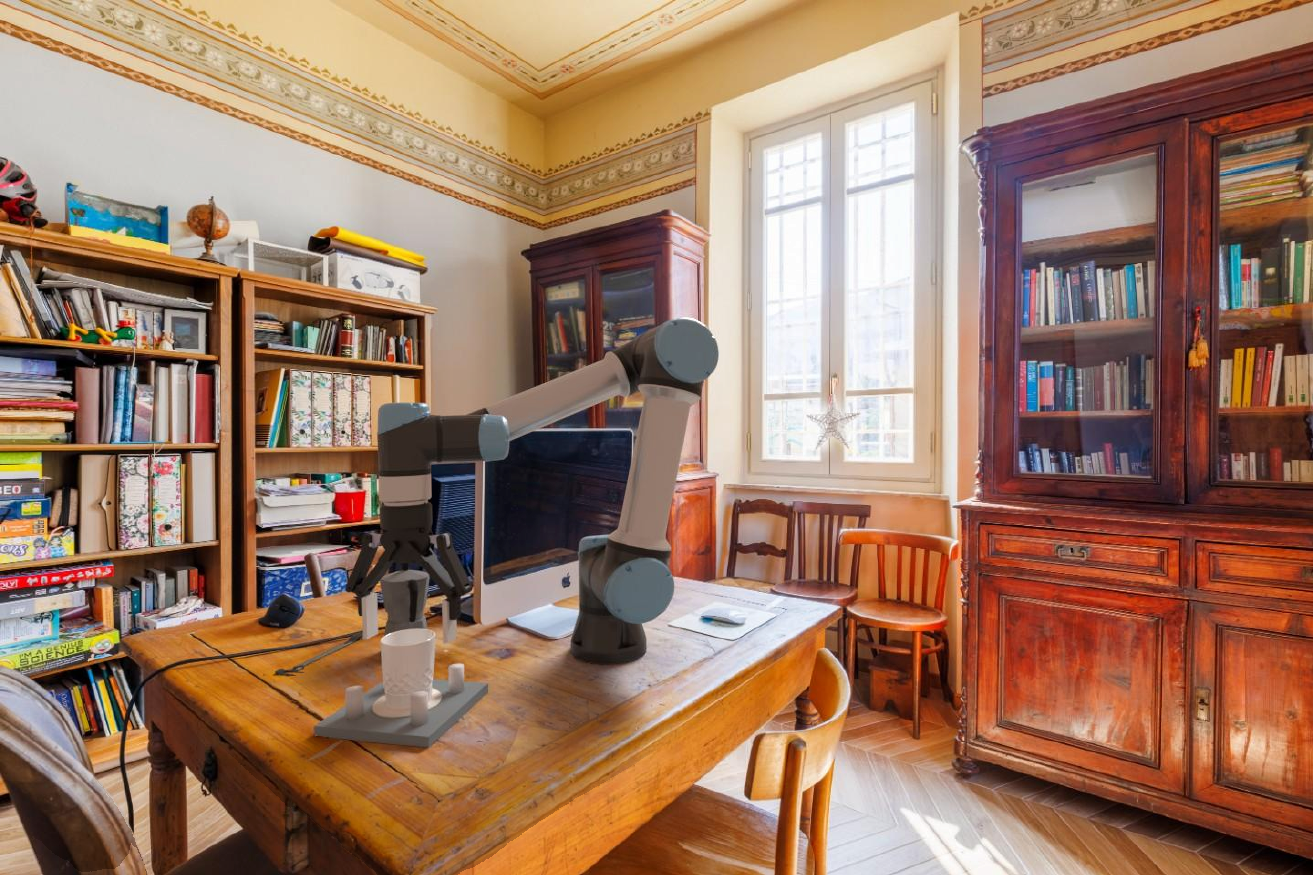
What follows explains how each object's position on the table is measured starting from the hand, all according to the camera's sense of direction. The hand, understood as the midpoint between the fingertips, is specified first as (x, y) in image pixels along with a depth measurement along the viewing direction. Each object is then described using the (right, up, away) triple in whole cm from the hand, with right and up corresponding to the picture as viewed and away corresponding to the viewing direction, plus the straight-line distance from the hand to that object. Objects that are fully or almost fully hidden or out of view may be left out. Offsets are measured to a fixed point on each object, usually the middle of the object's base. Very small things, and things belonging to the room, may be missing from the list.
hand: (409, 638), depth 93 cm
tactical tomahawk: (-25, -12, +24) cm, 37 cm away
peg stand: (0, -12, 0) cm, 12 cm away
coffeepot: (-11, -12, +25) cm, 30 cm away
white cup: (0, -10, 0) cm, 10 cm away
